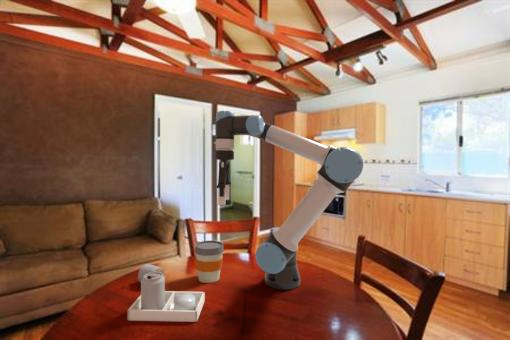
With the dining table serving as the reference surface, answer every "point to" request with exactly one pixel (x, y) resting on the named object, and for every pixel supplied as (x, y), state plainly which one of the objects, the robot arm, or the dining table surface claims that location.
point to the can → (153, 291)
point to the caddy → (167, 309)
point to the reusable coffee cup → (209, 260)
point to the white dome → (184, 302)
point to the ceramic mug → (148, 270)
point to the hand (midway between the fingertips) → (224, 202)
